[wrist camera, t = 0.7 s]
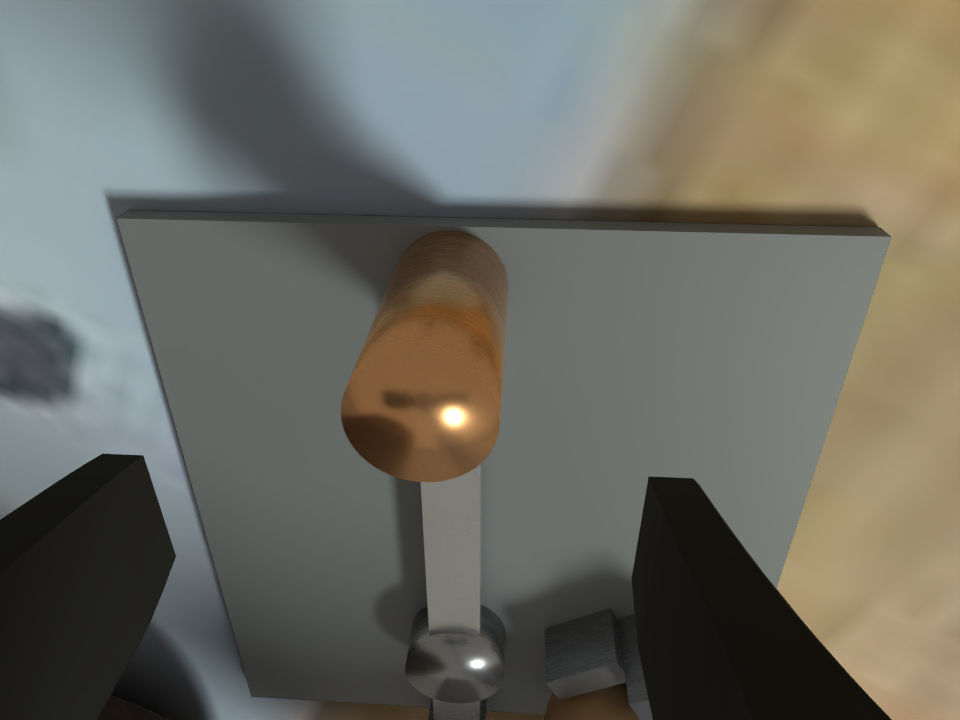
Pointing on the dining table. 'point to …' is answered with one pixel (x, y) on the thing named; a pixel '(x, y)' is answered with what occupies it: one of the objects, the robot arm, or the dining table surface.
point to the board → (523, 418)
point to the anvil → (596, 658)
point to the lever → (440, 447)
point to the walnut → (593, 706)
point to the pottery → (126, 711)
